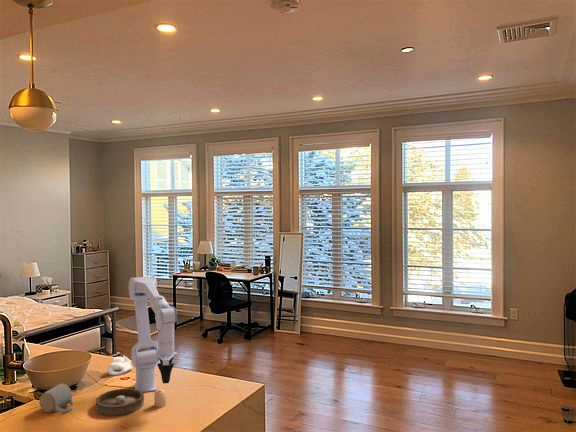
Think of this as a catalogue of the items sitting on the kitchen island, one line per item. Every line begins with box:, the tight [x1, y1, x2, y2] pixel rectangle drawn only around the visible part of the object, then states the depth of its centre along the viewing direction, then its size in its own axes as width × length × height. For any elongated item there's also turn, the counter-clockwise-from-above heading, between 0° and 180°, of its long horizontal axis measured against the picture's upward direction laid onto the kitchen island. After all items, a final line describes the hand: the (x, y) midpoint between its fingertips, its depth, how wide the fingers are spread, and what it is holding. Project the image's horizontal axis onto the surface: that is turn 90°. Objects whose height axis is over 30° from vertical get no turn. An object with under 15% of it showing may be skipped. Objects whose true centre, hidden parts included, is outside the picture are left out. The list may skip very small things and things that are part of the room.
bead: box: [153, 388, 167, 408], centre depth 161 cm, size 4×4×5 cm
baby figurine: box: [106, 355, 133, 376], centre depth 195 cm, size 9×12×8 cm
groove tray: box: [95, 388, 145, 417], centre depth 160 cm, size 16×16×3 cm
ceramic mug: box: [39, 383, 74, 414], centre depth 157 cm, size 11×8×8 cm
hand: (166, 379), depth 160 cm, fingers open, 7 cm apart
